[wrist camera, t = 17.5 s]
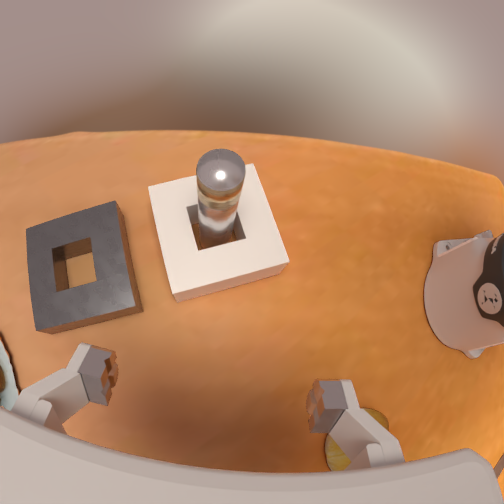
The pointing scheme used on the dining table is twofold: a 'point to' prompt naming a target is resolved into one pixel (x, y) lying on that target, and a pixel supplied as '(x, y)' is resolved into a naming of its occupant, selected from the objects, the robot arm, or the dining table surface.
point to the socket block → (105, 261)
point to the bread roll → (333, 451)
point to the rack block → (223, 256)
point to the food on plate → (7, 380)
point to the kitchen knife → (499, 467)
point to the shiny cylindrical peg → (218, 195)
